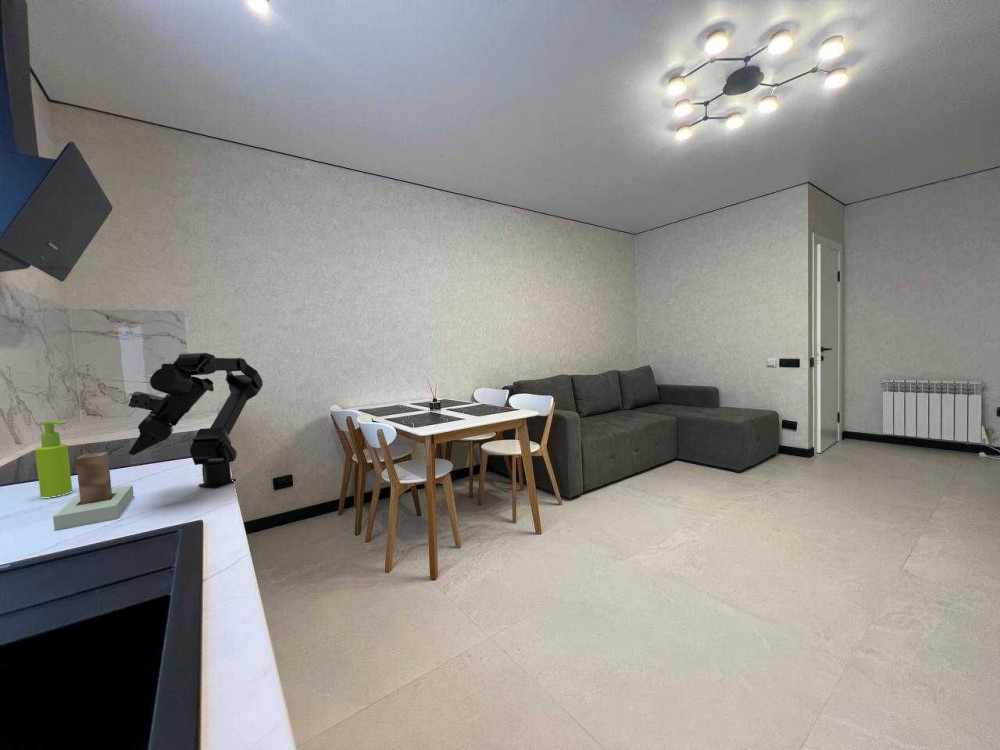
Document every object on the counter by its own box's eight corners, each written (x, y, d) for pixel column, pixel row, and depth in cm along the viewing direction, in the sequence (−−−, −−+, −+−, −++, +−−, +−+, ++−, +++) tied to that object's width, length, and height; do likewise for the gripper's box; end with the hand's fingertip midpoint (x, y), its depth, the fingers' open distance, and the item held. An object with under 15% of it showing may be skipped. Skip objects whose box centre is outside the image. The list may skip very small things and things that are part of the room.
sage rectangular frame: (80, 505, 104) (79, 493, 103) (133, 496, 109) (132, 484, 109) (54, 530, 88) (53, 516, 88) (117, 518, 94) (116, 505, 94)
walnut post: (112, 502, 102) (107, 451, 101) (108, 507, 98) (102, 455, 97) (87, 506, 99) (81, 454, 99) (81, 512, 96) (75, 458, 95)
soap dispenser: (59, 498, 110) (51, 422, 108) (34, 499, 110) (25, 423, 108) (82, 490, 115) (74, 418, 114) (58, 491, 116) (50, 419, 114)
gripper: (156, 374, 111) (108, 422, 107) (143, 384, 95) (87, 441, 91) (197, 399, 116) (153, 446, 112) (191, 412, 100) (140, 466, 96)
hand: (134, 449), depth 103 cm, fingers open, 9 cm apart
